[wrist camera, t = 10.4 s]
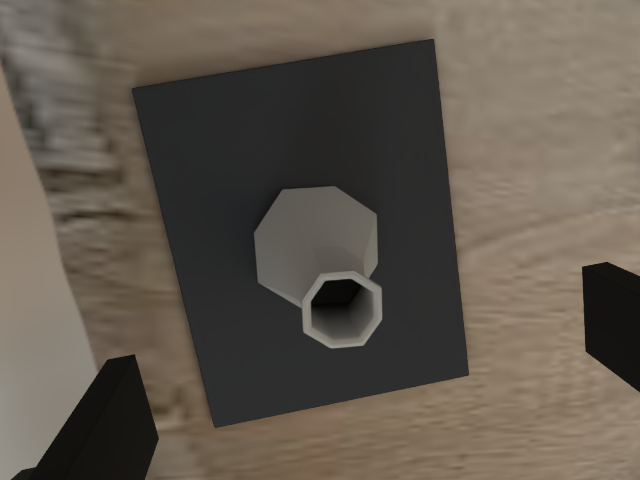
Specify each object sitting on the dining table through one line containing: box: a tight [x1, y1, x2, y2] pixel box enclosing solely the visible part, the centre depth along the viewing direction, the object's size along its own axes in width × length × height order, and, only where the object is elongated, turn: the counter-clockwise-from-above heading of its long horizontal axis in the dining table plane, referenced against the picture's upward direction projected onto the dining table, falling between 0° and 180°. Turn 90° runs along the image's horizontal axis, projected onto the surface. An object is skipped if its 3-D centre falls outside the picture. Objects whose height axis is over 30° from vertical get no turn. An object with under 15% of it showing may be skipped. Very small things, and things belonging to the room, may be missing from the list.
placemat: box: [132, 39, 469, 428], centre depth 29 cm, size 16×20×1 cm
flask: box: [254, 186, 382, 348], centre depth 24 cm, size 7×7×10 cm
